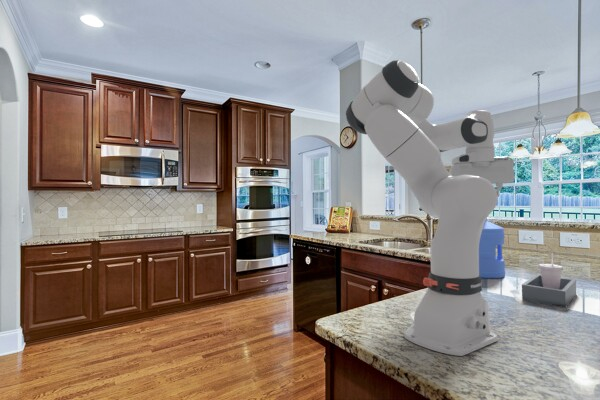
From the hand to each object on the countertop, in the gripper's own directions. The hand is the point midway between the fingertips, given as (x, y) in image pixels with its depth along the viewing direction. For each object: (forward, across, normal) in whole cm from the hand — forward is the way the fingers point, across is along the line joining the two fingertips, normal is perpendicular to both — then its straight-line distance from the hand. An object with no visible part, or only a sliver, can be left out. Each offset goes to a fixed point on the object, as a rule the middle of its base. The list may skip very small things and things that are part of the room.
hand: (480, 197), depth 110 cm
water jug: (+34, -10, -32) cm, 48 cm away
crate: (+34, -20, 0) cm, 40 cm away
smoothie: (+33, -20, 0) cm, 39 cm away
